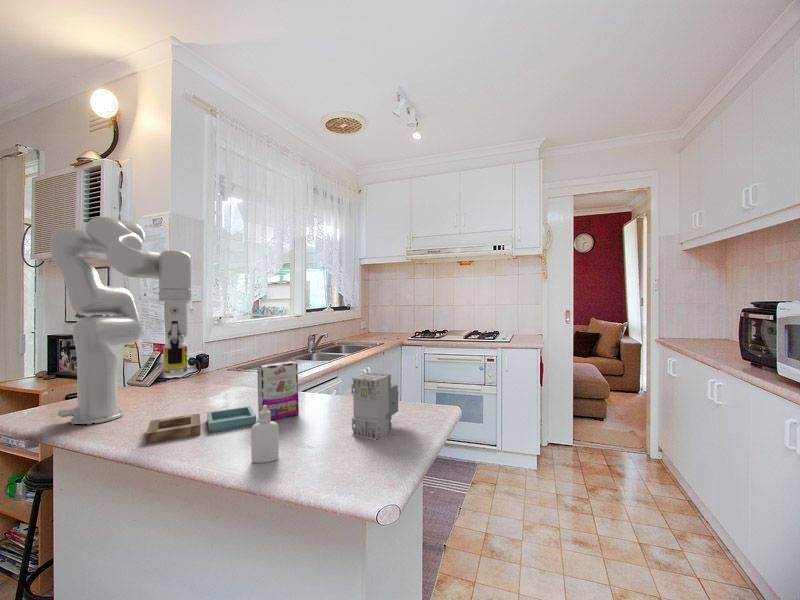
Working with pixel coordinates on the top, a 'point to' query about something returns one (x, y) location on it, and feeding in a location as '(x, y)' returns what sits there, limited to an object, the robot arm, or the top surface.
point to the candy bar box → (278, 389)
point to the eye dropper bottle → (264, 438)
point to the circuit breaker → (373, 404)
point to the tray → (230, 419)
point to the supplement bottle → (179, 367)
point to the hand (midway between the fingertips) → (175, 361)
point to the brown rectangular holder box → (173, 428)
